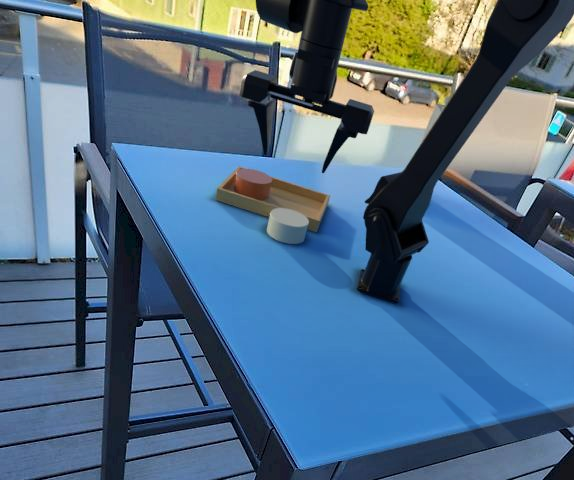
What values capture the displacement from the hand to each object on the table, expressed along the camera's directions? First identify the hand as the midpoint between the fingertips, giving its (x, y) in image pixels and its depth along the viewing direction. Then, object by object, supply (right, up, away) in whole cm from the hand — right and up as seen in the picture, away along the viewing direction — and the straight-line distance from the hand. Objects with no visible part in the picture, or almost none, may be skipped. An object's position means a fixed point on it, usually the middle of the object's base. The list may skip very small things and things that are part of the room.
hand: (294, 163), depth 75 cm
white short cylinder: (-1, -9, +5) cm, 11 cm away
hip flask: (+27, +7, +33) cm, 43 cm away
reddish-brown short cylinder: (-8, +1, +13) cm, 15 cm away
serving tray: (-3, -1, +14) cm, 14 cm away
